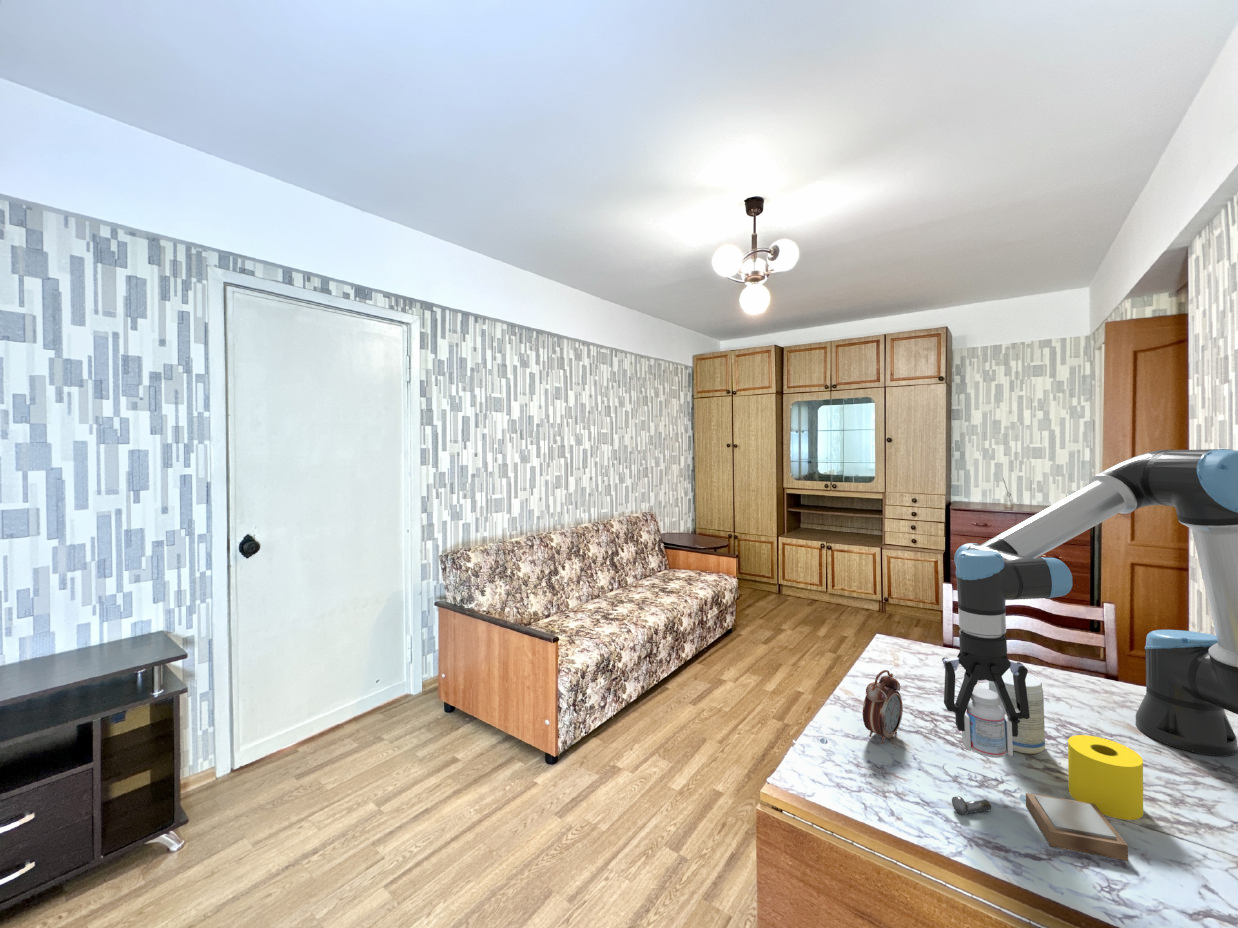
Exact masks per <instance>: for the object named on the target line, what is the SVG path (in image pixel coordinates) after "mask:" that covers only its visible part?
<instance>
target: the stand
mask: <svg viewBox="0 0 1238 928" xmlns="http://www.w3.org/2000/svg"><path fill="white" fill-rule="evenodd" d="M1025 807H1026V809H1027V811H1028V812H1029V814H1030V816H1031V817H1032V819H1033V820H1034V822H1035V823H1036V826H1037V827H1038V828H1039V830H1040V832H1041V833H1042V835H1043V837H1044V838H1045V840H1046V841H1047V843H1048V844H1049V845H1048V846H1049V847H1052V848H1057V849H1062V850H1068V851H1073V852H1078V853H1085V854H1089V855H1095V856H1100V857H1104V858H1111V859H1115V860H1122V861H1126V862H1129V845H1128V844H1127V841H1125V840H1124V838H1123V837H1122V836H1121V835H1120V833H1119V832H1118V831H1117V829H1115V827H1114V826H1113V824H1111V823H1110V821H1109V820H1108V819H1107V816H1106V815H1103V814H1102V813H1101V811H1100V810H1099V809H1098V808H1097V806H1096V805H1095V804H1092V803H1086V802H1080V801H1076V800H1075V799H1074V800H1071V799H1065V798H1060V797H1054V796H1049V795H1048V796H1047V795H1042V794H1037V793H1036V794H1034V793H1029V792H1025Z"/></svg>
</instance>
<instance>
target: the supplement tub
mask: <svg viewBox="0 0 1238 928" xmlns="http://www.w3.org/2000/svg"><path fill="white" fill-rule="evenodd" d="M1002 679H1003V681H1004V684H1005V687H1006V689H1007V692H1008V694H1009V697H1010V699H1011V701H1012V704H1013V706H1014V709H1017V704H1016V696H1015V689H1014V681H1013V673H1012V672H1011V670H1010V668H1009V669H1008V670H1007V671H1006V672H1005V673H1004V674H1003V675H1002ZM1025 682H1026V690H1027V698H1028V706H1029V714H1030V718H1029V719H1024V718H1023V719H1020V722H1019V723H1018V736H1017V737H1013V736H1012V744H1013V752H1016V753H1017V752H1018V753H1021V754H1027V755H1030V754H1031V755H1033V754H1034V755H1035V754H1039V753H1042V752H1043V751H1044V750H1045V748H1046V734H1045V728H1046V727H1045V705H1044V704H1045V701H1044V699H1045V698H1044V697H1045V696H1044V688H1043V683H1042V680H1041V679H1040V678H1038V677H1036V676H1035V675H1033V674H1031V673H1029V672H1028V673H1027V676H1026V679H1025ZM988 690H991V691H994V692H996V693H997V694H998V691H997V689H996V686H995V684H994V682H993V681H988ZM998 695H999V694H998ZM999 701H1000V703H999V706H1000V707H1001V708H1002V709H1003V710H1004V713H1005V715H1007V713H1006V710H1005V708H1004V706H1003V703H1002V701H1001V698H1000V696H999Z"/></svg>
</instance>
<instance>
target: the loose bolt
mask: <svg viewBox="0 0 1238 928" xmlns="http://www.w3.org/2000/svg"><path fill="white" fill-rule="evenodd" d="M951 804H952V807H953V810H954V811H955V812H956V813H957V814H959V815H963V814H965V815H966V814H968V813H978V812H987V811H991V810H992V806H991V803H990V802H989V801H988V800H987V799H981V800H971V801H965V800H964V798H963V797H961V796H959V795H958V796H952V797H951Z"/></svg>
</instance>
